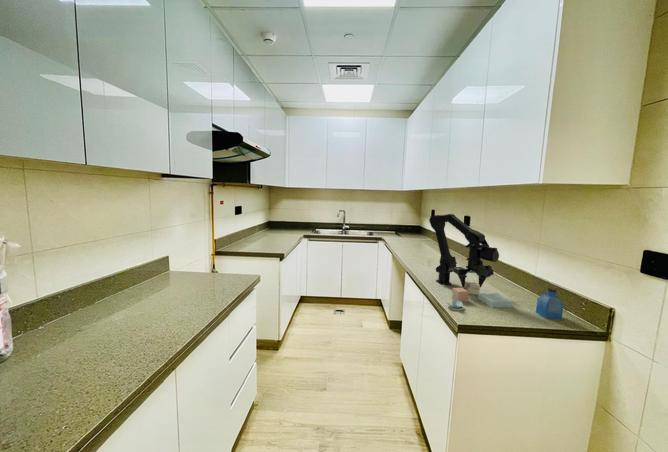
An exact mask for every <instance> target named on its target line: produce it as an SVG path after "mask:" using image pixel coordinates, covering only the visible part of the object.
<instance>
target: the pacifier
mask: <svg viewBox="0 0 668 452" xmlns="http://www.w3.org/2000/svg"><path fill="white" fill-rule="evenodd" d="M457 299H458V296H457V294H451V300H452V302H451V303H450V302H445V304H447V305H448V306H449V308H450V310H452V311H456V312H457V311H464V309H465V307H463V303H464V302H461V301H457Z"/></svg>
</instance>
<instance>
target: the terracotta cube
mask: <svg viewBox="0 0 668 452" xmlns="http://www.w3.org/2000/svg"><path fill="white" fill-rule="evenodd" d="M451 293H452V294H457V296H458V299H457V301H461V302H462V303H466V302H467V303H468V301H469V294H468V293H469V291H467V290H465V289H464V287H452V289H451ZM452 294H451V295H452Z"/></svg>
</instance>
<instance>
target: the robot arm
mask: <svg viewBox="0 0 668 452" xmlns="http://www.w3.org/2000/svg"><path fill="white" fill-rule="evenodd" d="M428 220H429V221H428V222H429V224H430V227H431V228H432V229H433V230H434V232H435V238H436V240H437V244H438V249H439V254H440V257H439V265H438V266H437V267H435V272H436V273H438V276H437V277H438V278H437V279H435V282H437V283H438V284H440V285H452V282H451V281H450V280H451V273H454V274H456V275H457V277H458V279H459V281H460V283H461V286H462V287H461V288H464V286H465V282H466V278H468V275H467V274H470V273H471V274H472V273H473V274H475V273H476V275H477V276H478V284H479V285H480V288H482V287H483V284H484V283H485V281H486V279H487V278H489V277H492V276H494V272H495V271H494V270H493V269H492V266H491V265H485V264H484V263H483V261H487V262H492V263H497V262H498V260H499V258H500V253H499V251H498V247H491V246H490V245H489V243H488V242H487V240H486V236H485V235H484V234H483V233H482V232H480V231H478V230H476V229H472V227H470V226H468V225H467V224H466V223H465V222H463V221H462V220H461V219H460V218H458V217H457V216H456V215H455V214H454V213H447V214H442V215H441V214H433V215H431V216H430V217H429V219H428ZM447 222H448V223H449V224H450V225H452V227H454V228H455V229H456V230H457V231H459V233H461V234H463V236H464V237H465V240H466V241H467V242H468V244H466V245H465V248H468V257H467V258H466V261H467V265H465V268H464V267H462V266H457V264H458V262H457V258H456V256H452V254H451V253H450V248H449V243H448V239H447V235H446V232H445V227H446V223H447Z"/></svg>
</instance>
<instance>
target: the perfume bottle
mask: <svg viewBox="0 0 668 452" xmlns="http://www.w3.org/2000/svg"><path fill="white" fill-rule="evenodd" d="M546 288H547V289H546V291H545V293H542V294H541V295H540V296H539V297H537V299H536V306H535V308H536V309H535V313H536V314H538V315H539V316H541V317H542V318H544V319H547V320H548V319H549V320H559V321H561V320H562V319H563V313H564V307H565V306H564V304H563V302H562V300H561V299H560V297H558V296H557V295H558V292H557V289H558V288H555V287H550V286H549V287H548V286H547V287H546Z"/></svg>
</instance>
